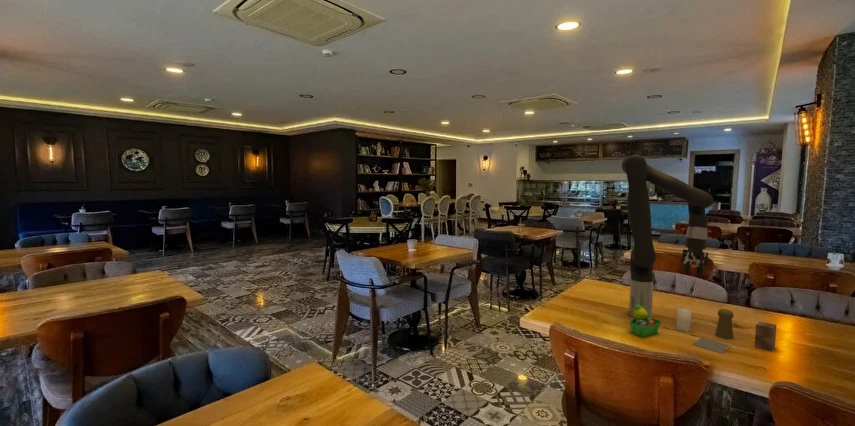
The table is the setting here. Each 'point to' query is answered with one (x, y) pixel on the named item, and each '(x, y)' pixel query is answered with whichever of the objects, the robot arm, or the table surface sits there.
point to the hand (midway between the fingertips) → (692, 274)
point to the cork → (725, 324)
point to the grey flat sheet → (711, 345)
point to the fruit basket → (643, 322)
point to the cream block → (683, 319)
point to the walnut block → (765, 336)
